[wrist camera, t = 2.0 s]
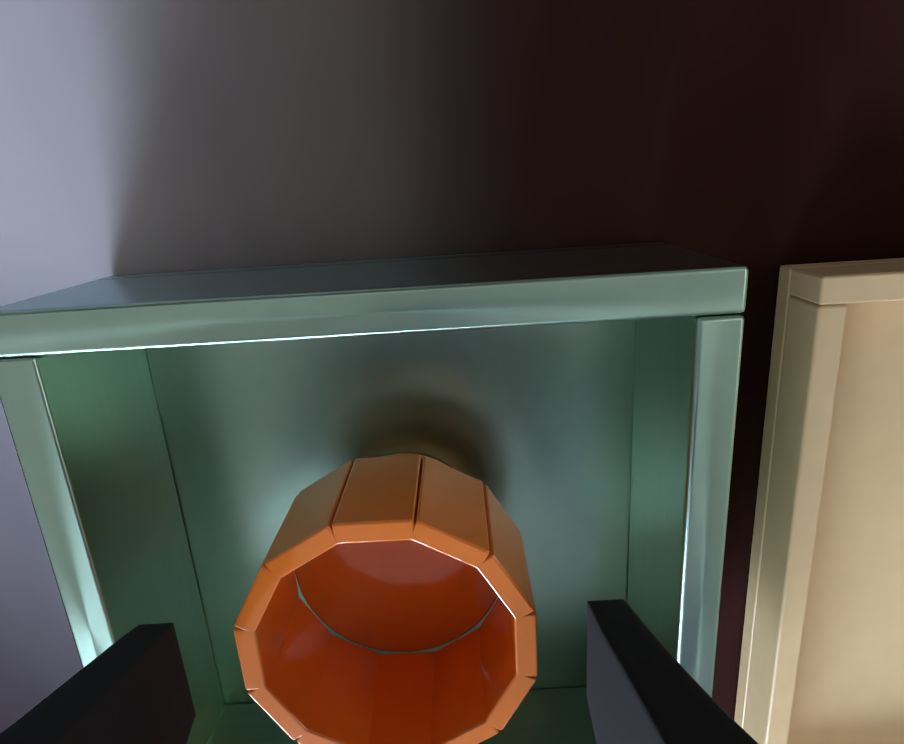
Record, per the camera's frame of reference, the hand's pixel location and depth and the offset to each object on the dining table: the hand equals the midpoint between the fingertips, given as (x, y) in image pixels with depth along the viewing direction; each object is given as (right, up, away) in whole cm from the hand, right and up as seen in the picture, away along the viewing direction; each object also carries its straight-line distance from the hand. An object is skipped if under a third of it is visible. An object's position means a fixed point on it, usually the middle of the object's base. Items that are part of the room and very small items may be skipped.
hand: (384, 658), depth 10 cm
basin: (0, +2, +5) cm, 5 cm away
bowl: (0, +1, +4) cm, 5 cm away
